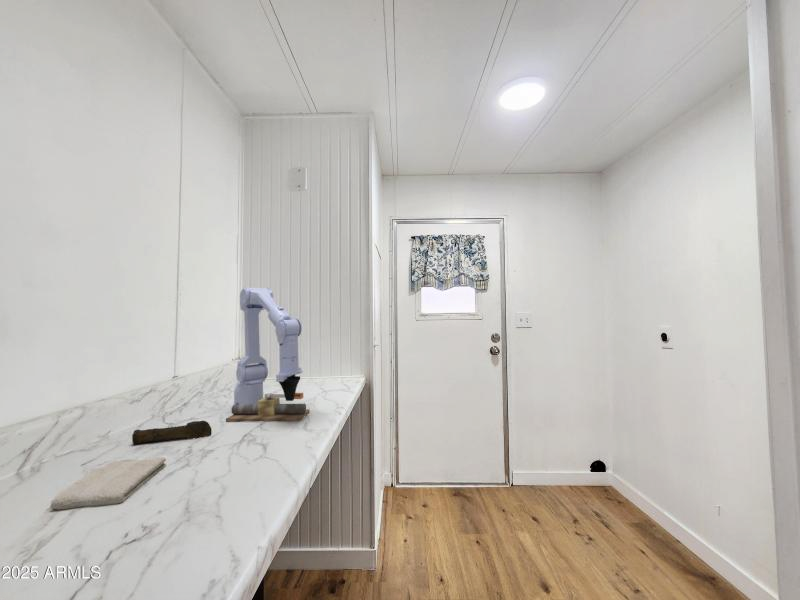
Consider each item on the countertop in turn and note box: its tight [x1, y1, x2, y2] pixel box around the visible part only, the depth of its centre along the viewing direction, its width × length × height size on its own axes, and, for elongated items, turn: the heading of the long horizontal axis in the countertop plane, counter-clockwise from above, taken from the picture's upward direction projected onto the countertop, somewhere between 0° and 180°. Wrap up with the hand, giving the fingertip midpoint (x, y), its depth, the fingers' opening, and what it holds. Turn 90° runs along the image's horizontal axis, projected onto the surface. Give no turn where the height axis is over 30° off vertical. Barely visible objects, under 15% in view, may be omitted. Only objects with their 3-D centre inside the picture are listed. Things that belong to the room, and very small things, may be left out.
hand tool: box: [131, 420, 213, 446], centre depth 101 cm, size 19×4×5 cm, turn 103°
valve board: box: [225, 397, 311, 423], centre depth 120 cm, size 24×10×6 cm, turn 86°
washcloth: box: [50, 457, 167, 511], centre depth 74 cm, size 12×18×3 cm, turn 9°
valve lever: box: [264, 392, 304, 400], centre depth 120 cm, size 13×3×2 cm, turn 83°
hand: (290, 400), depth 115 cm, fingers closed
